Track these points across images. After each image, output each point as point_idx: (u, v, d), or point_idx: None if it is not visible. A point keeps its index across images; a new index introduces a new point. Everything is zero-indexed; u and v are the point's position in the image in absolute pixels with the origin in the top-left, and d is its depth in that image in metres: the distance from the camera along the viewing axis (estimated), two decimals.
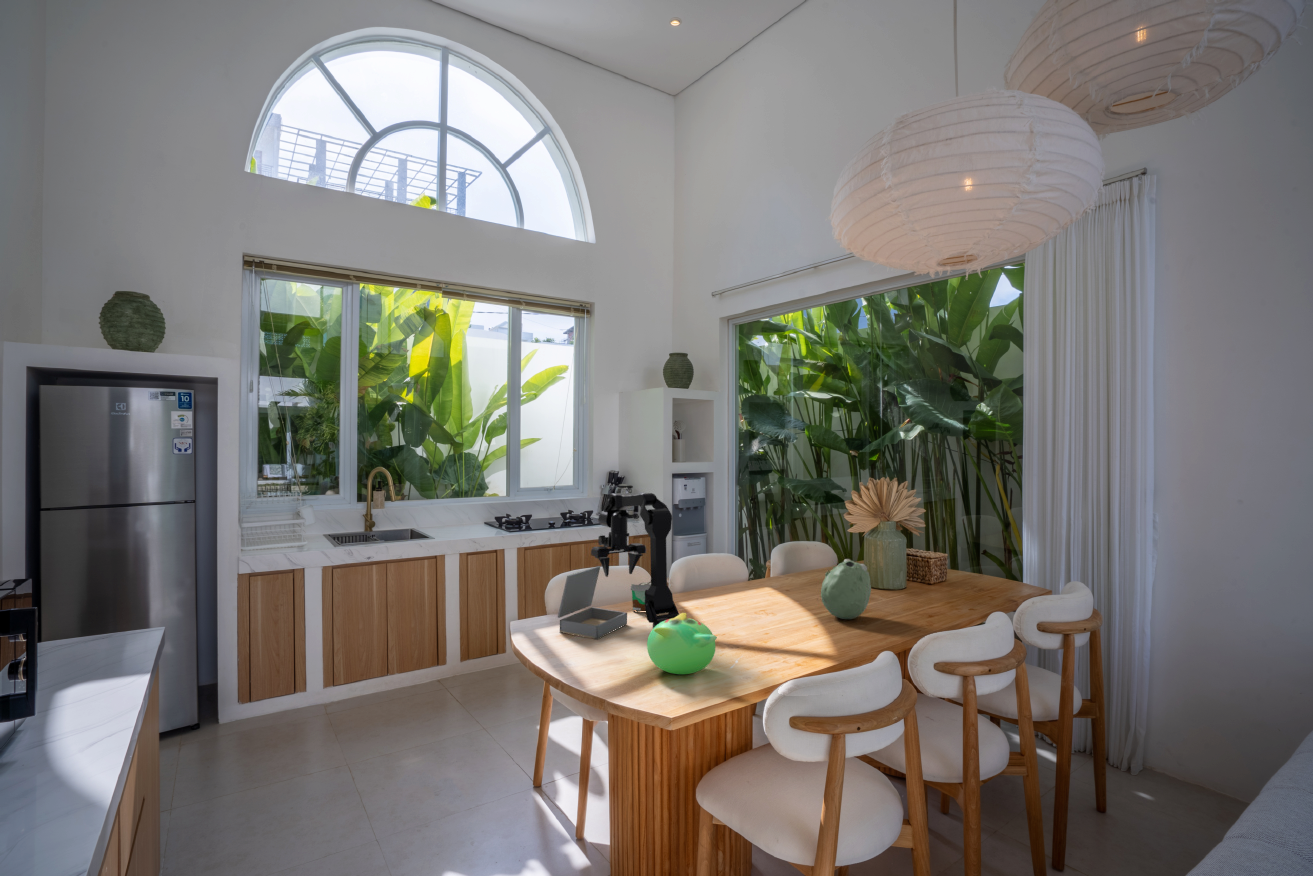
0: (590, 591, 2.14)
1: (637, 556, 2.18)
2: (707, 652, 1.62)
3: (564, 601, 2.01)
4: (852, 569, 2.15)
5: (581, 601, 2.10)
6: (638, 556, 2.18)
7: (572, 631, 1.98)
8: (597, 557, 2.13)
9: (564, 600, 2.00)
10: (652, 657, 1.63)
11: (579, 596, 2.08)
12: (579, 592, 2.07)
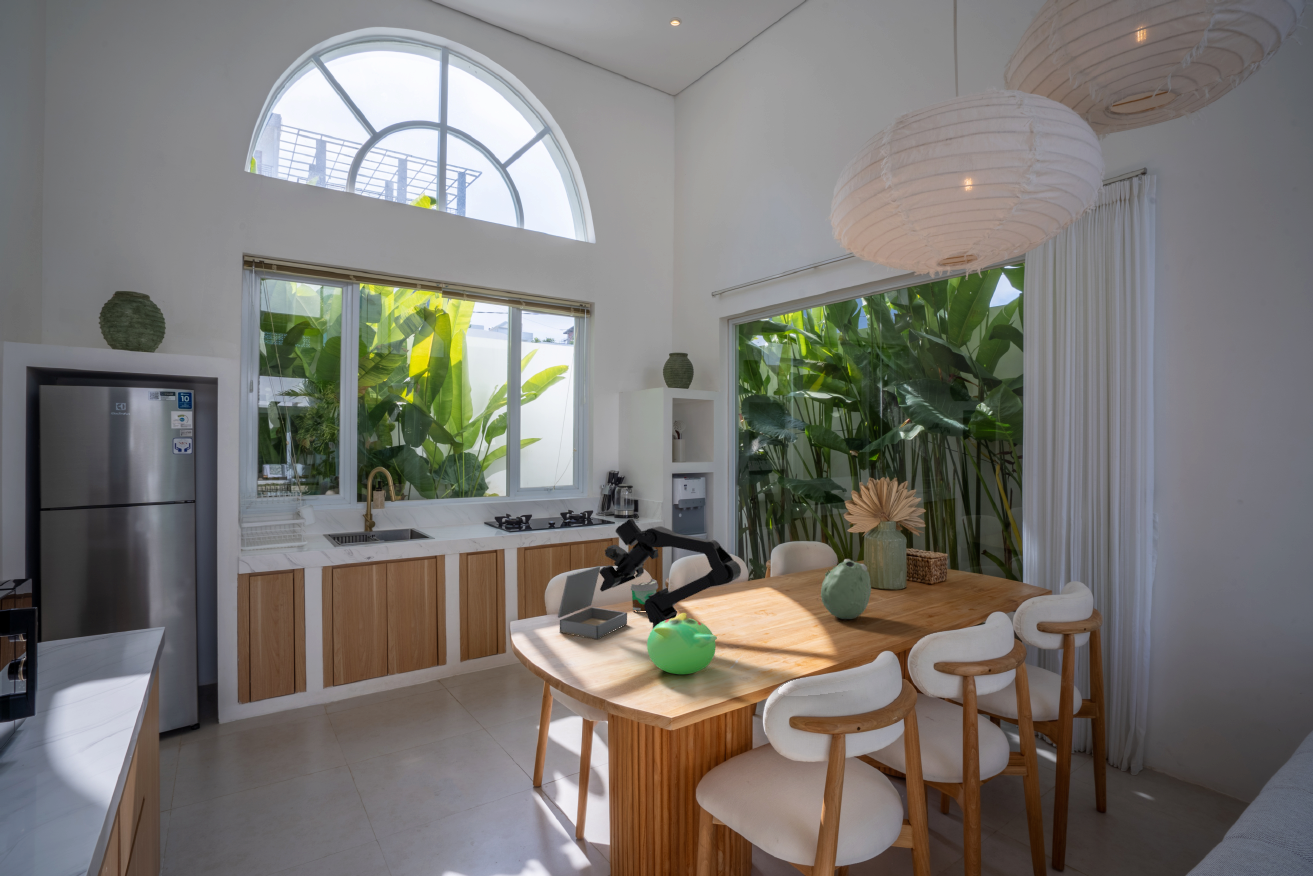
0: (590, 591, 2.14)
1: None
2: (707, 652, 1.62)
3: (564, 601, 2.01)
4: (852, 569, 2.15)
5: (581, 601, 2.10)
6: None
7: (572, 631, 1.98)
8: None
9: (564, 600, 2.00)
10: (652, 657, 1.63)
11: (579, 596, 2.08)
12: (579, 592, 2.07)
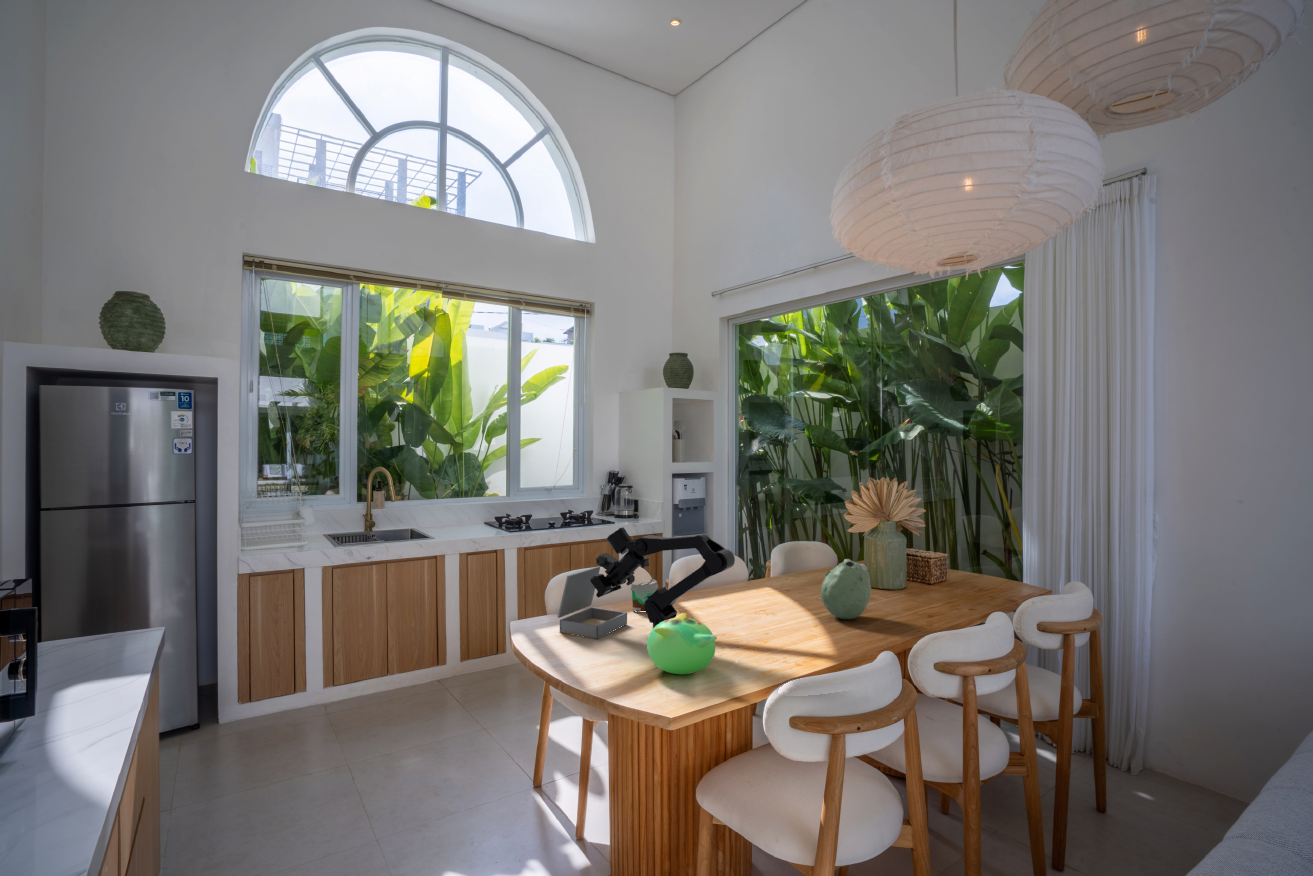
0: (590, 591, 2.14)
1: None
2: (707, 652, 1.62)
3: (564, 601, 2.01)
4: (852, 569, 2.15)
5: (581, 601, 2.10)
6: (617, 589, 2.03)
7: (572, 631, 1.98)
8: None
9: (564, 600, 2.00)
10: (652, 657, 1.63)
11: (579, 596, 2.08)
12: (579, 592, 2.07)
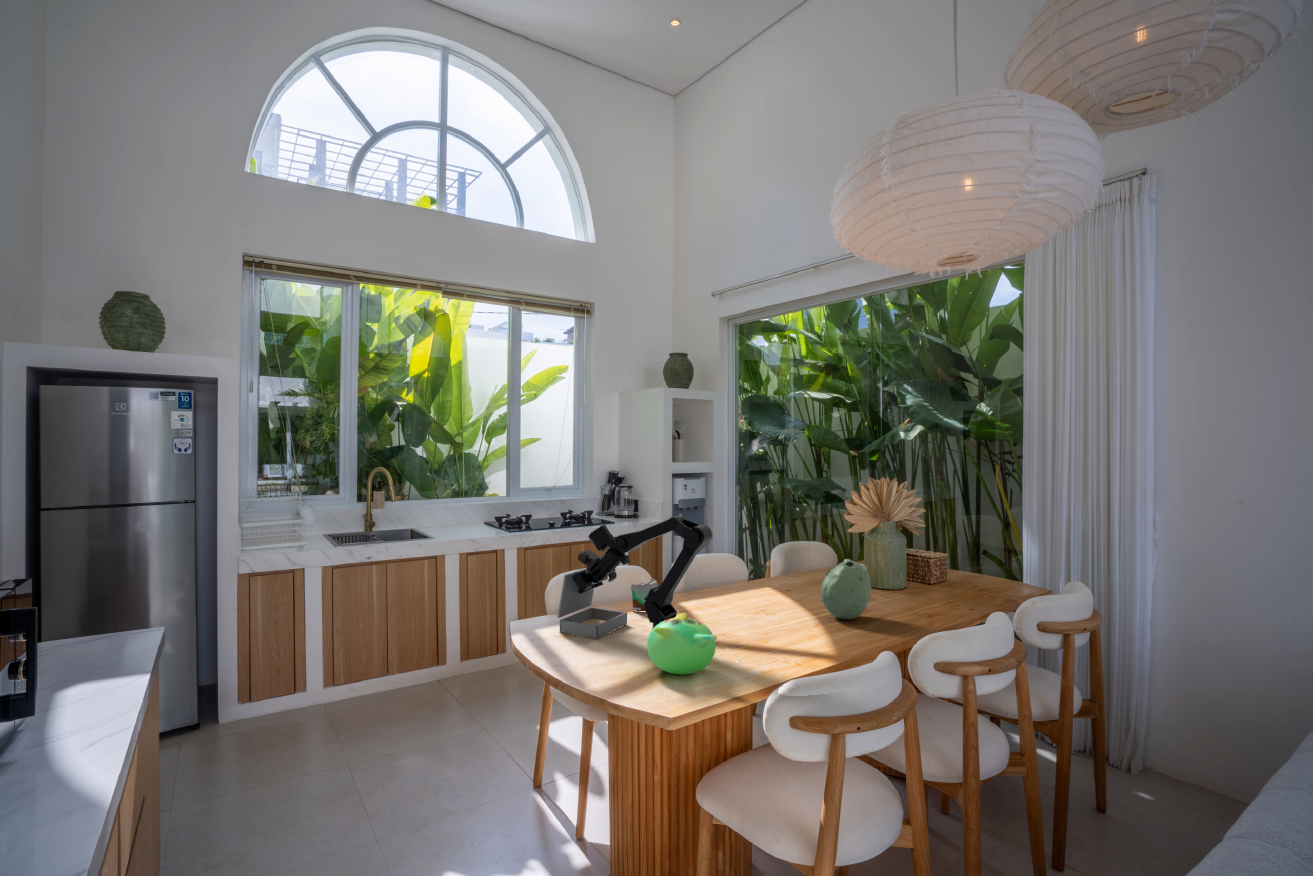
0: (589, 591, 2.14)
1: (598, 586, 2.06)
2: (707, 652, 1.62)
3: (563, 600, 2.01)
4: (852, 569, 2.15)
5: (581, 600, 2.10)
6: None
7: (572, 631, 1.98)
8: None
9: (563, 599, 2.01)
10: (652, 657, 1.63)
11: (578, 596, 2.08)
12: None
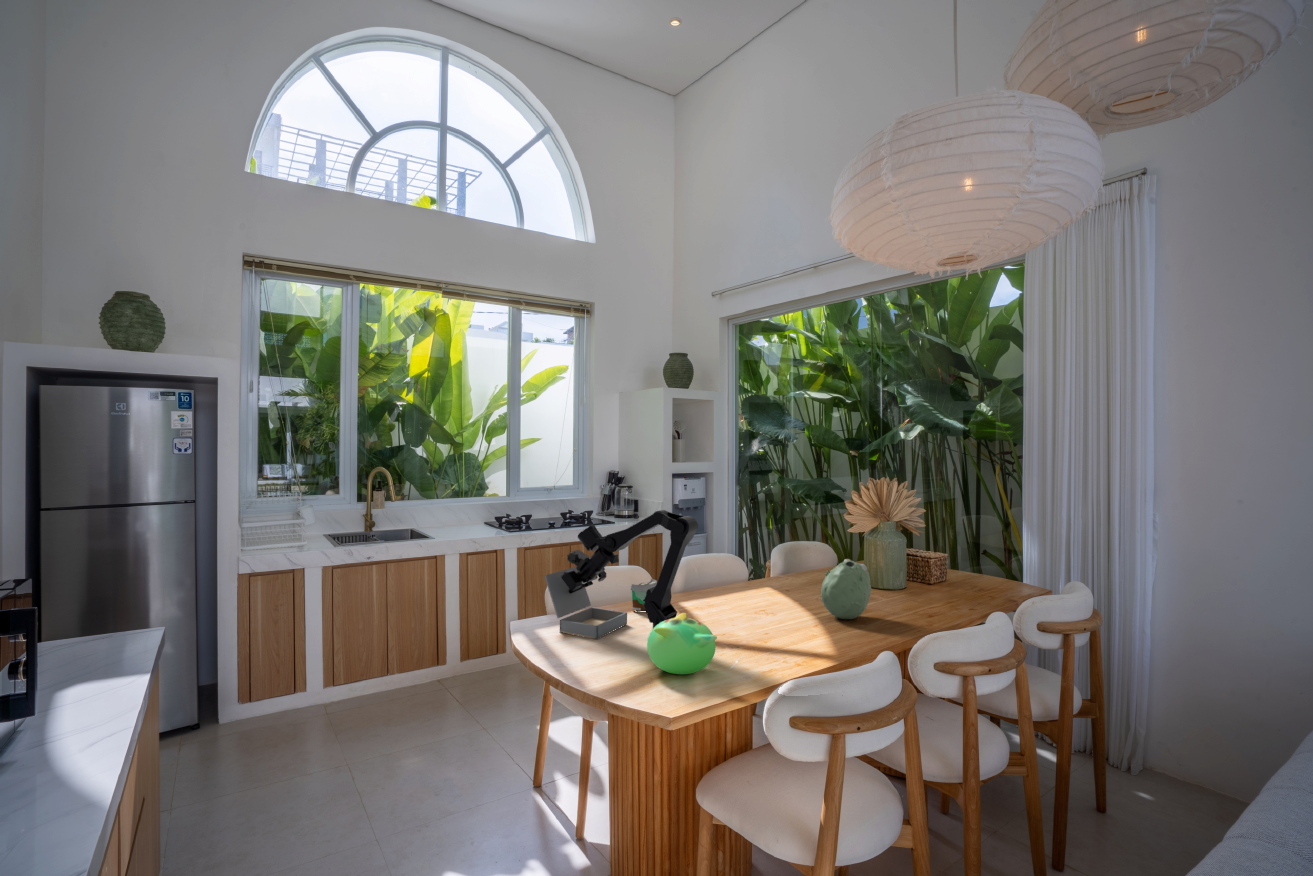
0: (581, 590, 2.15)
1: None
2: (707, 652, 1.62)
3: (555, 600, 2.02)
4: (852, 569, 2.15)
5: (576, 600, 2.11)
6: (589, 585, 2.08)
7: (572, 631, 1.98)
8: None
9: (554, 599, 2.02)
10: (652, 657, 1.63)
11: (571, 595, 2.10)
12: (568, 591, 2.10)
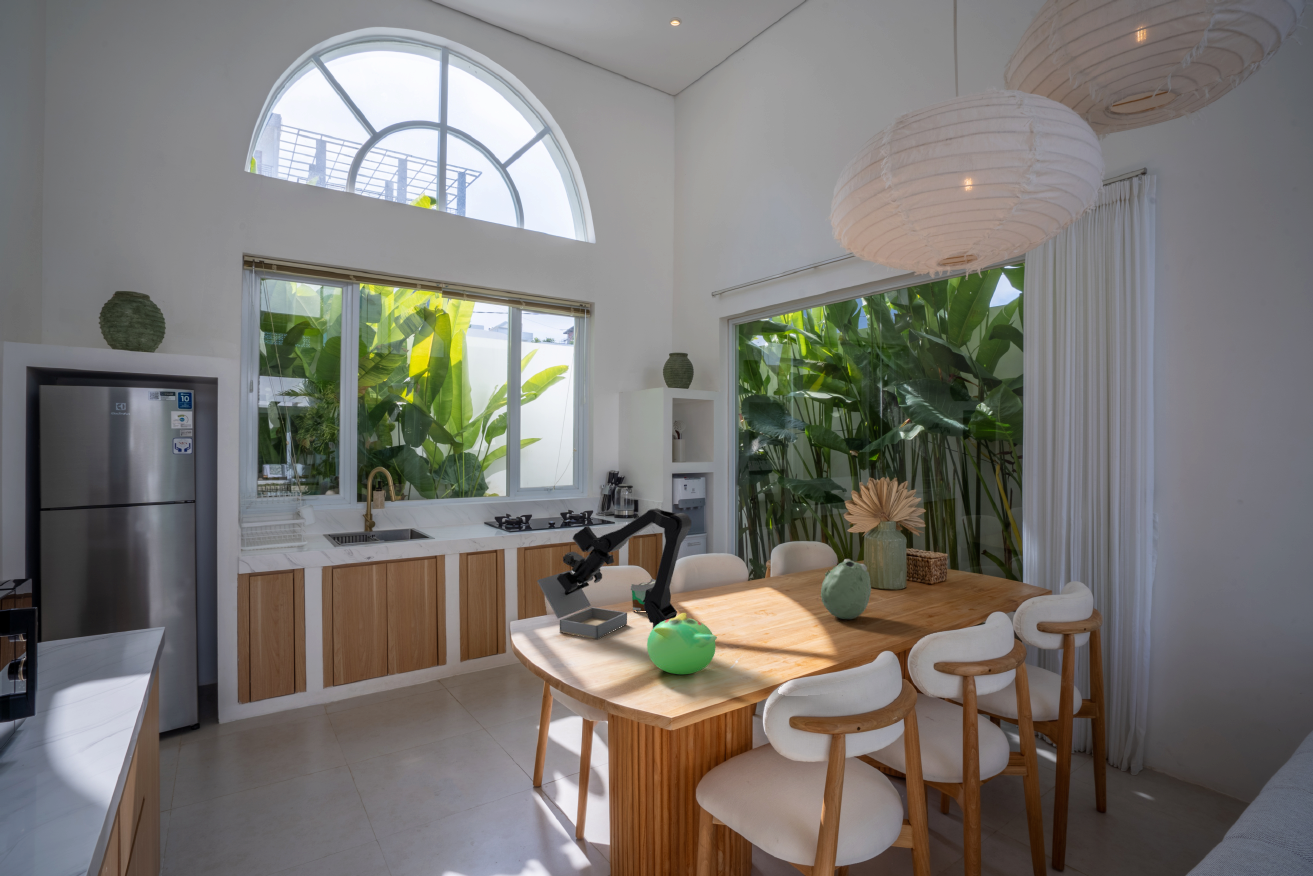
0: (578, 592, 2.16)
1: (584, 587, 2.09)
2: (707, 652, 1.62)
3: (551, 602, 2.03)
4: (852, 569, 2.15)
5: (574, 601, 2.11)
6: None
7: (572, 631, 1.98)
8: None
9: (551, 601, 2.03)
10: (652, 657, 1.63)
11: (568, 597, 2.10)
12: (564, 593, 2.10)
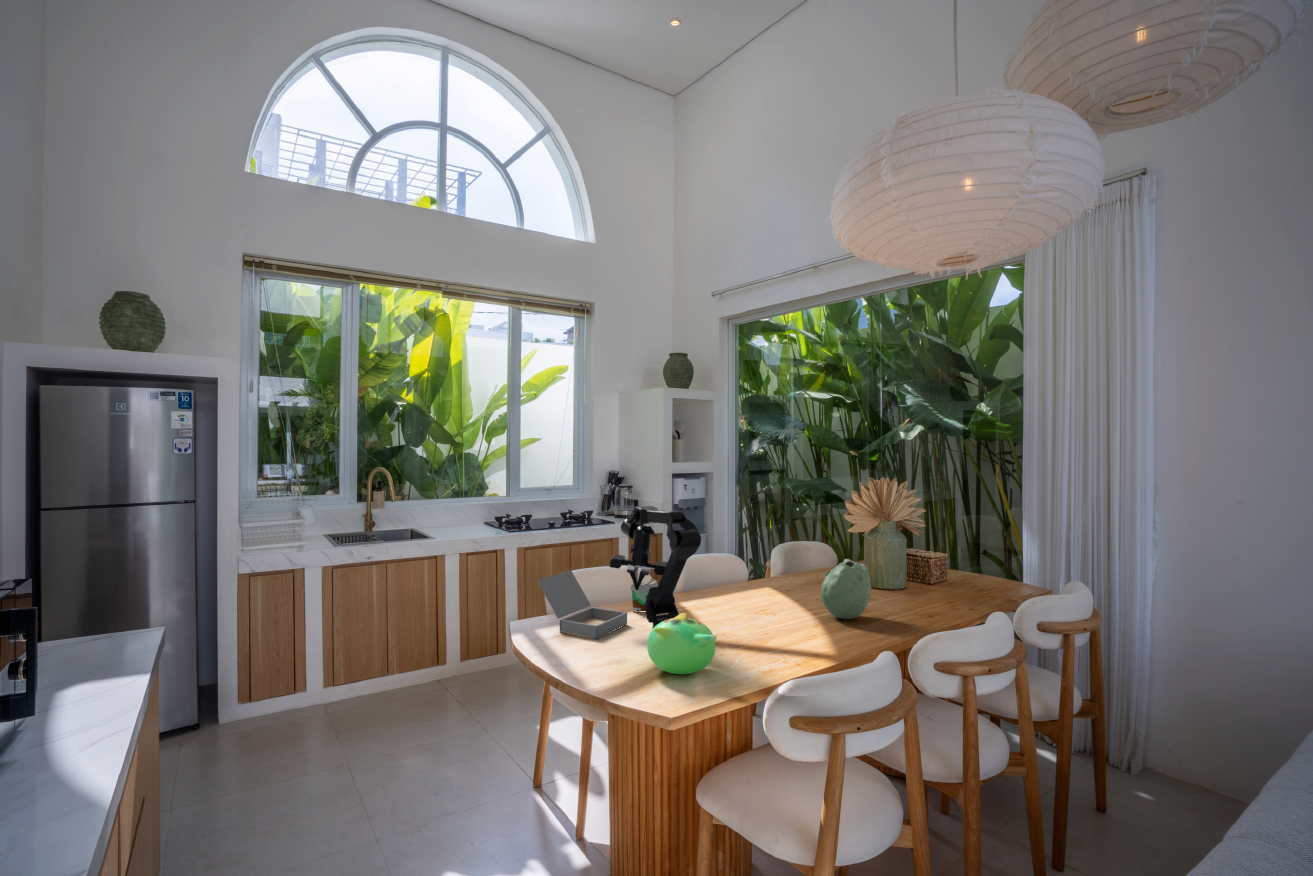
0: (578, 592, 2.16)
1: (641, 574, 2.04)
2: (707, 652, 1.62)
3: (551, 602, 2.03)
4: (852, 569, 2.15)
5: (574, 601, 2.11)
6: (642, 575, 2.04)
7: (572, 631, 1.98)
8: None
9: (551, 601, 2.03)
10: (652, 657, 1.63)
11: (568, 597, 2.10)
12: (564, 593, 2.10)
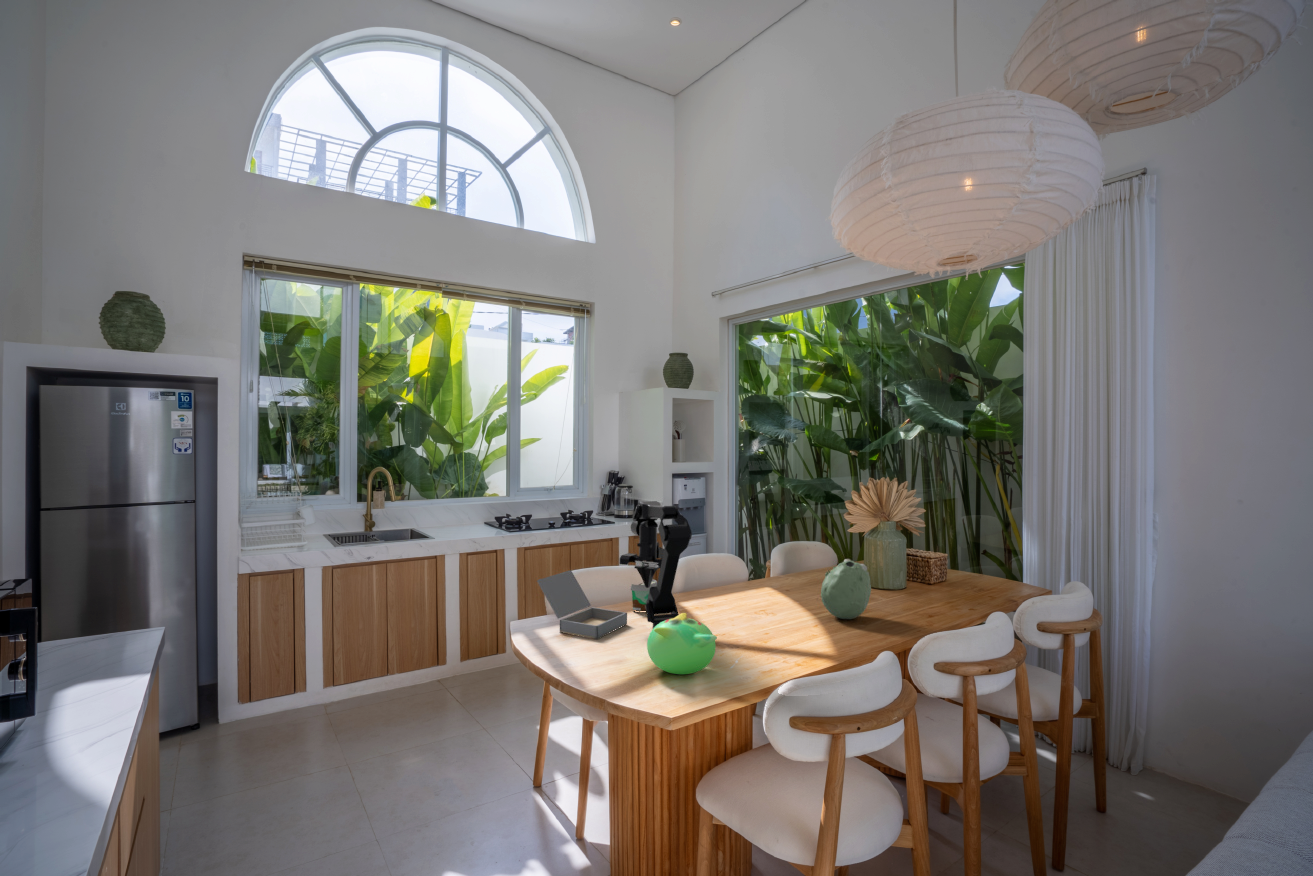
0: (578, 592, 2.16)
1: (647, 569, 2.04)
2: (707, 652, 1.62)
3: (551, 602, 2.03)
4: (852, 569, 2.15)
5: (574, 601, 2.11)
6: (648, 570, 2.04)
7: (572, 631, 1.98)
8: None
9: (551, 601, 2.03)
10: (652, 657, 1.63)
11: (568, 597, 2.10)
12: (564, 593, 2.10)
